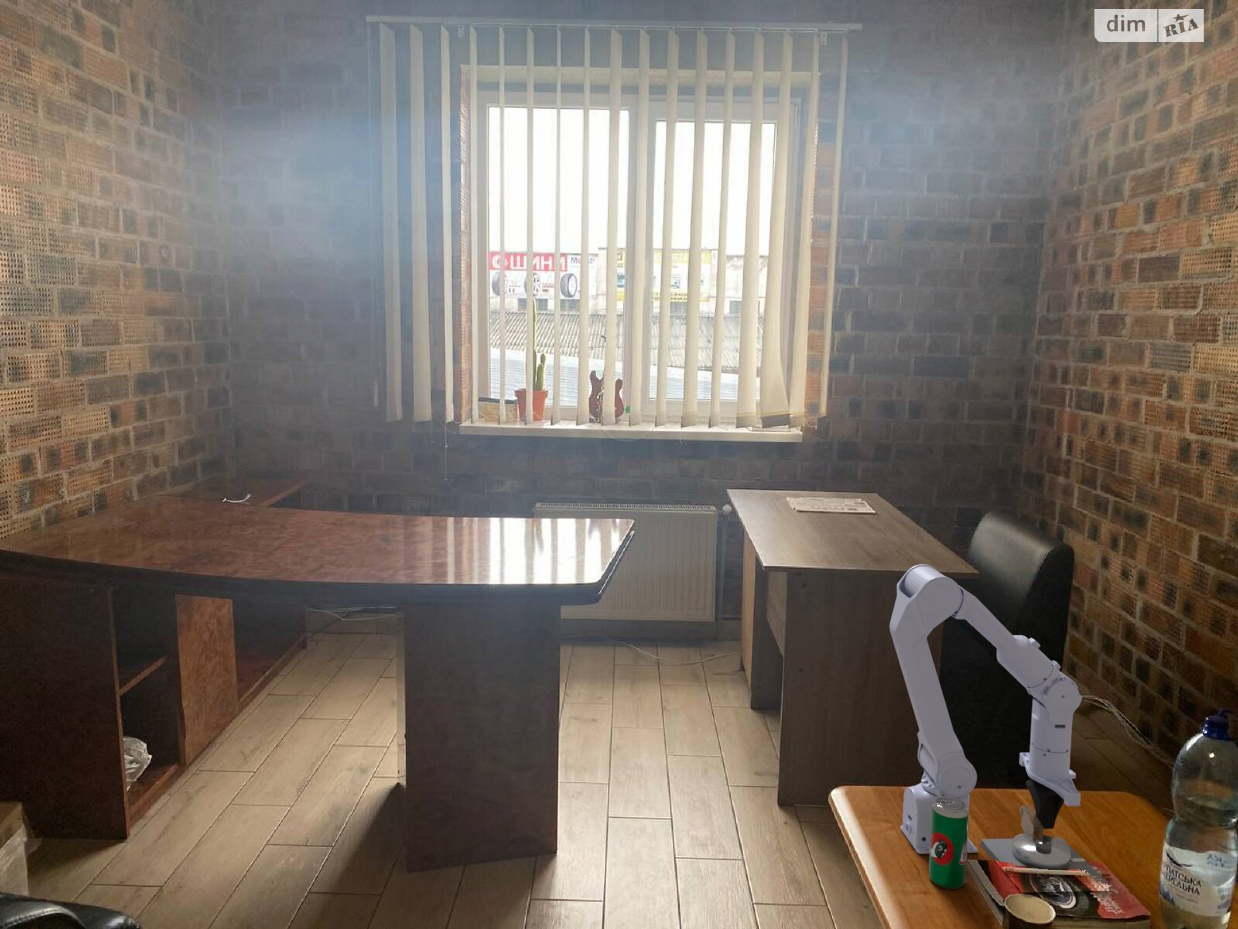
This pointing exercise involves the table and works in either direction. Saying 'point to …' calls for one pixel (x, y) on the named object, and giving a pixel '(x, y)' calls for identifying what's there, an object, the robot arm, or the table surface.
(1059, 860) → the cam
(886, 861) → the table surface
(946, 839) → the soda can
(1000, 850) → the stand plate
